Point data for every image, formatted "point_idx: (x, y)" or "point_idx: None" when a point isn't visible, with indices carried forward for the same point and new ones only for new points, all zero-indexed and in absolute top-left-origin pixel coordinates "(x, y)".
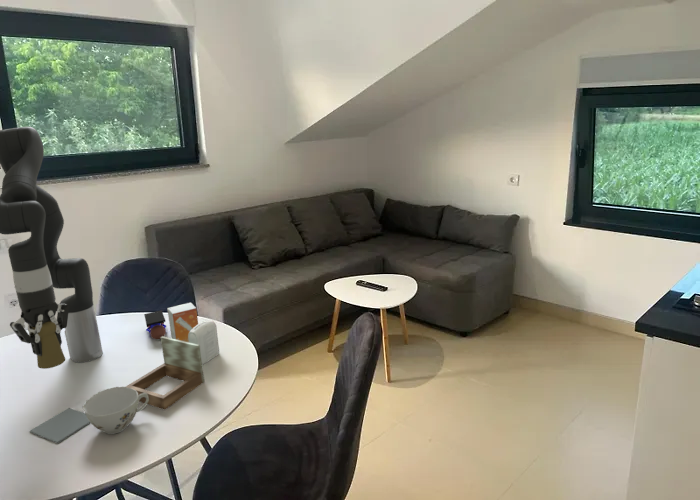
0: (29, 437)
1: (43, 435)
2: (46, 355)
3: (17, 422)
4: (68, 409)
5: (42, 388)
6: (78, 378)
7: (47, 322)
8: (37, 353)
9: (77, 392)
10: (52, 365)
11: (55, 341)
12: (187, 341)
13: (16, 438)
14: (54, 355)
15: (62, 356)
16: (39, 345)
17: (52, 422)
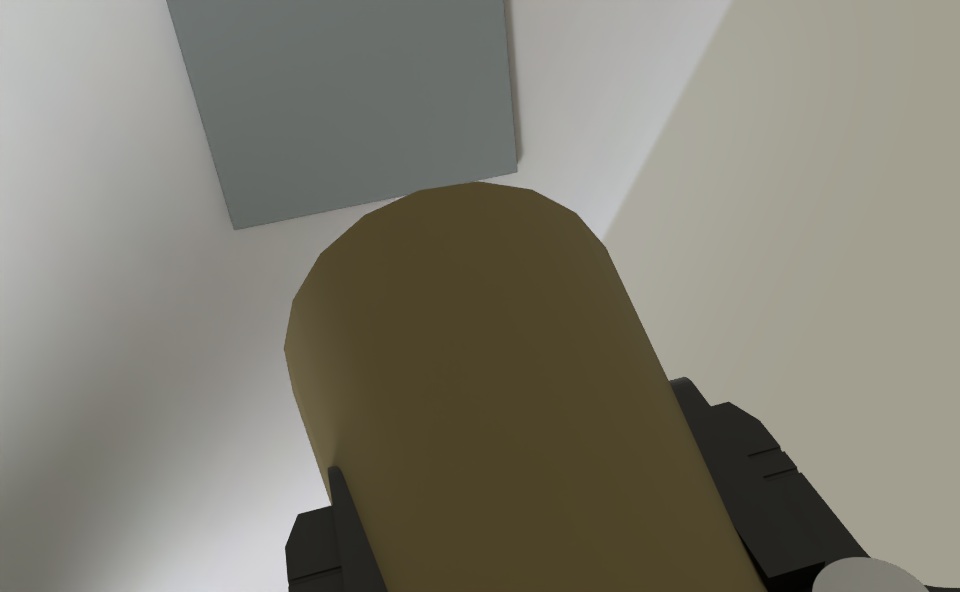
0: (543, 113)
1: (499, 41)
2: (629, 335)
3: None
4: (247, 212)
5: (249, 553)
6: (33, 529)
7: None
8: (746, 417)
9: (107, 378)
10: (536, 204)
11: (489, 502)
12: None
13: (585, 168)
14: (516, 290)
15: (360, 288)
16: (774, 510)
17: (391, 143)
